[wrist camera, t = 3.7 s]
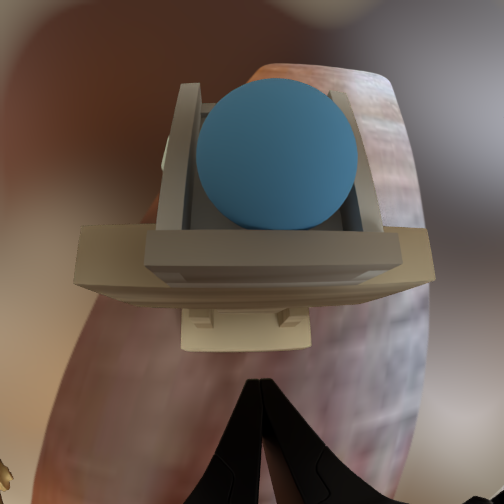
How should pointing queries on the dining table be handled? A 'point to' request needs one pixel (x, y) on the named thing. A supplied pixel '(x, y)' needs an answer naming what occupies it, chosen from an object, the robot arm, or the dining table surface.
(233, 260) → the catapult arm
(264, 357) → the dining table surface
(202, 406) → the dining table surface
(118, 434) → the dining table surface
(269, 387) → the robot arm
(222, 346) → the stand
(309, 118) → the ball
